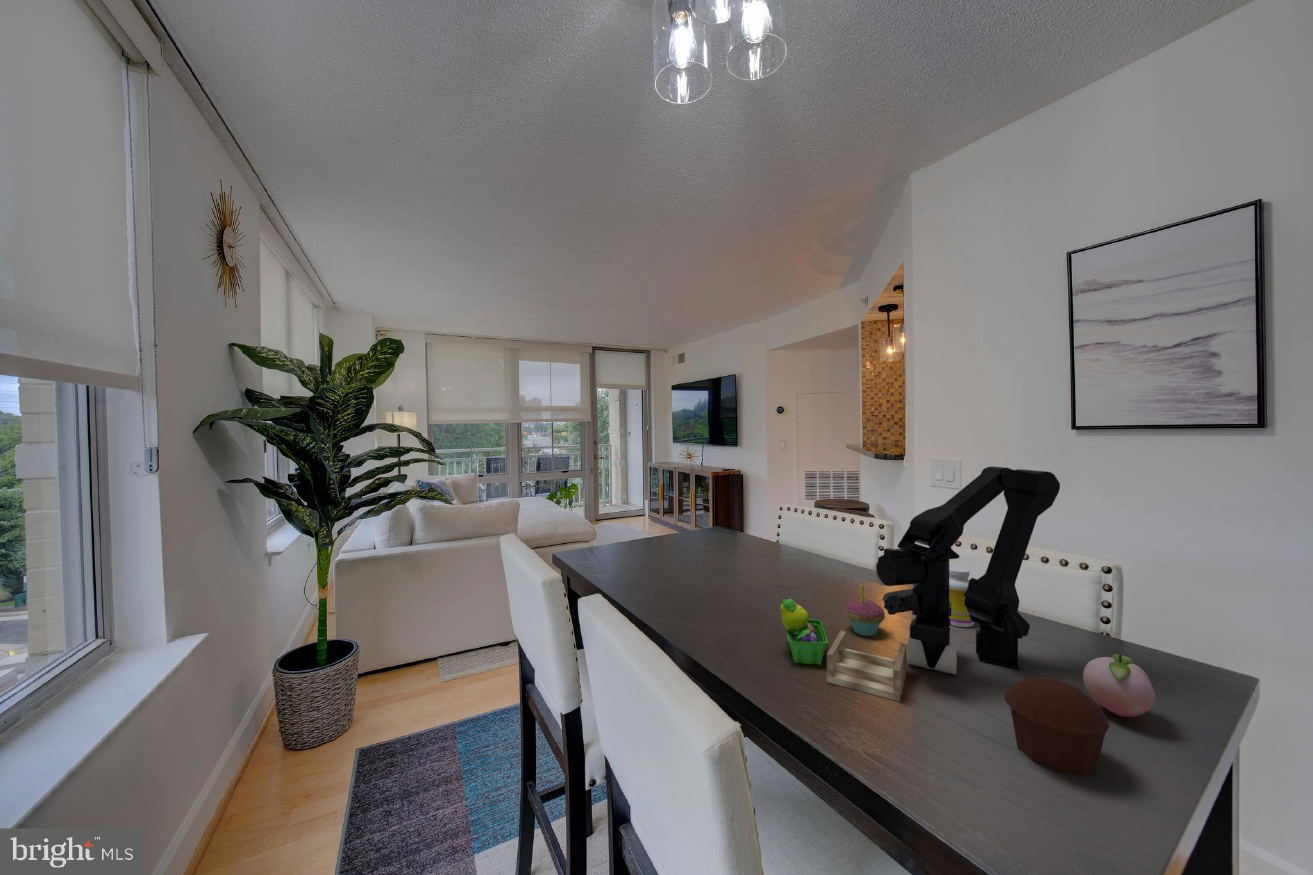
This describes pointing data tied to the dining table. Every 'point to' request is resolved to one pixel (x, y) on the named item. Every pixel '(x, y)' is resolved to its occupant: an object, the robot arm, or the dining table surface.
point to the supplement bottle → (959, 596)
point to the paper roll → (918, 658)
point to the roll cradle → (866, 670)
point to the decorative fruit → (1119, 685)
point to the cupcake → (864, 615)
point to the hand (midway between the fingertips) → (931, 661)
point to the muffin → (1057, 725)
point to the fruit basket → (803, 634)
